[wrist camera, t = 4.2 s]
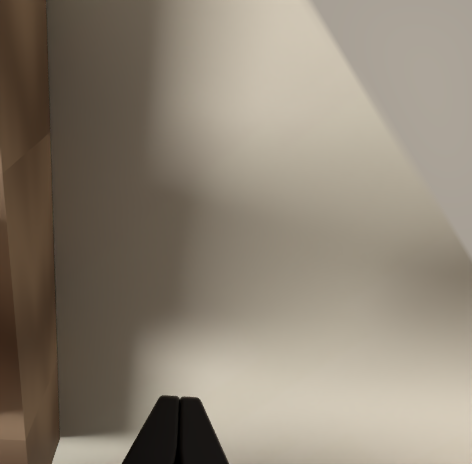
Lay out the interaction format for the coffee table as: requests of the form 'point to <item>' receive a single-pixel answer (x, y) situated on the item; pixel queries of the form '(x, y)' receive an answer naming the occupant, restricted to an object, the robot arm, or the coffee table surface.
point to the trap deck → (26, 241)
